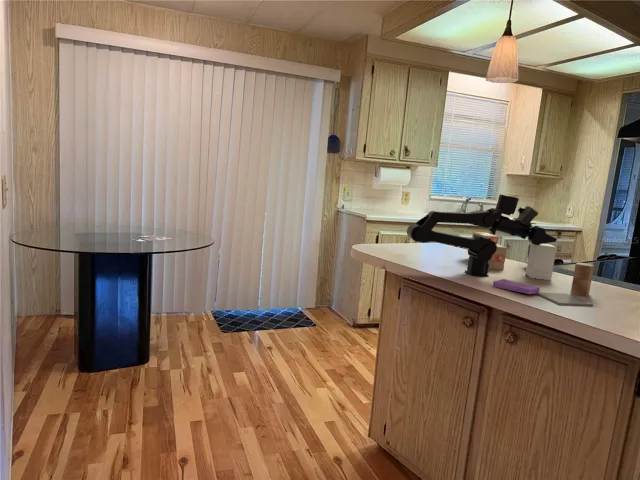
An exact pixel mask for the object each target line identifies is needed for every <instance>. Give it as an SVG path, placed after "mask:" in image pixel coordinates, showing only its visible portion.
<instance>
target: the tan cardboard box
mask: <svg viewBox="0 0 640 480" xmlns="http://www.w3.org/2000/svg"><path fill="white" fill-rule="evenodd" d="M474 234H476V235H478V236H486V237H488V238H491V241H494V242H495V243H496V245H497V250H496V252H495V253H494V254H493V255H492V257H491V259H490V261H488V263H489V269H488V270H501V271H502V270H504V267H505V263H506V255H507V251H508V247H506V246H504V245H502V244H499V243H498V239H499V236H498V235H496V234H495V235H492V234H490V232H489V233H488V232H485V231H484V232H482V231H472V234H471V238H474ZM469 257H471V256H470V255H469Z"/></svg>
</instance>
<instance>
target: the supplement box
mask: <svg viewBox="0 0 640 480" xmlns="http://www.w3.org/2000/svg"><path fill="white" fill-rule="evenodd" d="M529 244H530V250H529V257H528V256H527V266H526V270H525V271H526V272H525V275H527V276H528V277H529V278H530V279H535V278H536V279H537V280H543V279H544V280H545V281H551V280H552V278H553V277H552V276H553V271H554V266H555V265H554V264H555V259H556V252H557V246H556V245H555V246H554V245H552V244H551V243H544V244H540V245H534V244H532V243H529ZM536 279H535V280H536Z"/></svg>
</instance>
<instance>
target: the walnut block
mask: <svg viewBox="0 0 640 480" xmlns="http://www.w3.org/2000/svg"><path fill="white" fill-rule="evenodd" d="M594 269H595V264H590V263H585V262H576V263H575V265H574V272H573V278H572V283H571V289H570V295H572V294H573V295H577V296H581V297H584V298H586V297H588V296H589V295H590V289H591V285H592V280H593V274H594Z"/></svg>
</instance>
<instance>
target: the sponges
mask: <svg viewBox="0 0 640 480" xmlns="http://www.w3.org/2000/svg"><path fill="white" fill-rule="evenodd" d="M492 287H495V288H498V289H504V290H508V291H513V292H517V293H522V294H528V295H533V294H536V293H538V292H540V293H541V290H540V289H541V287H540V286H536V285H531V284H527V283H522V282H518V281H515V280H514V281H513V280H508V279H505V278H501V279H498V280H494V281H493V282H492Z"/></svg>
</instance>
